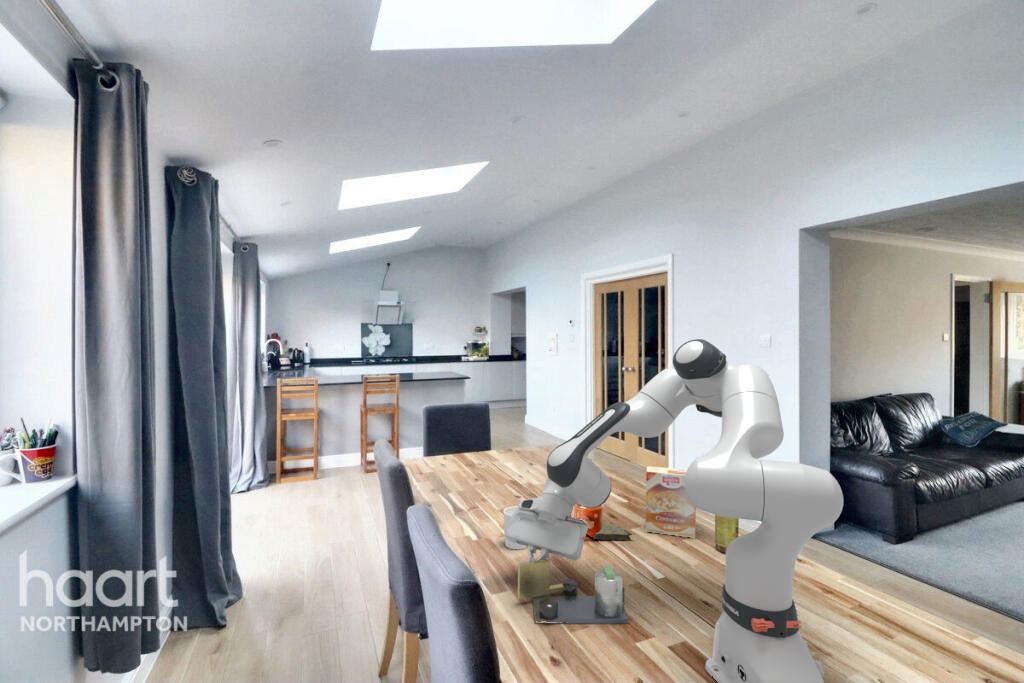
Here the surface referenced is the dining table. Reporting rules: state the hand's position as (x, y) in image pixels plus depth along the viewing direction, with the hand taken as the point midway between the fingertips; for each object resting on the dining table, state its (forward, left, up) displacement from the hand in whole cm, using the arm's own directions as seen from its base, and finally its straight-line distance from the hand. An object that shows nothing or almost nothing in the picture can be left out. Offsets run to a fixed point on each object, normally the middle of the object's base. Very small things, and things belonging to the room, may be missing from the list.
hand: (532, 567), depth 112 cm
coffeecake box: (+38, -46, -7) cm, 60 cm away
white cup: (+28, +3, -7) cm, 29 cm away
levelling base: (-6, -10, -7) cm, 14 cm away
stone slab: (+39, -22, -7) cm, 45 cm away
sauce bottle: (+25, -58, -7) cm, 63 cm away
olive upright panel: (-1, -4, -6) cm, 8 cm away
